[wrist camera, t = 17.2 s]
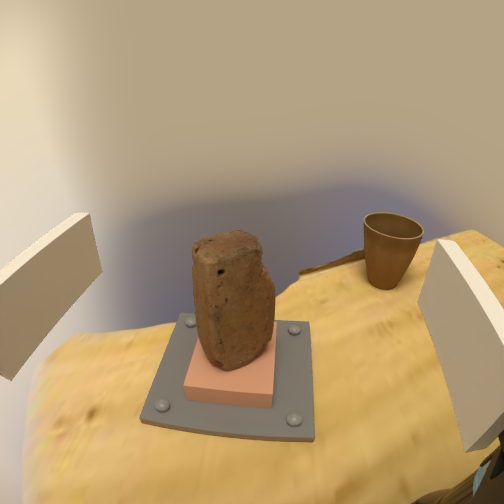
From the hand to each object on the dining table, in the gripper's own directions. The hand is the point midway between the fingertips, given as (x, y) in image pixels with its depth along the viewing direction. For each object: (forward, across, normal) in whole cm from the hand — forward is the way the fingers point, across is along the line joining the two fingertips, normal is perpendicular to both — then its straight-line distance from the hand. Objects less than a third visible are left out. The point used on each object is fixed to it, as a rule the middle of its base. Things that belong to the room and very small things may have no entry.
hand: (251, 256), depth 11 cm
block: (+25, -6, -33) cm, 42 cm away
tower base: (+25, -6, -38) cm, 46 cm away
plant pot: (+58, +25, -38) cm, 74 cm away
